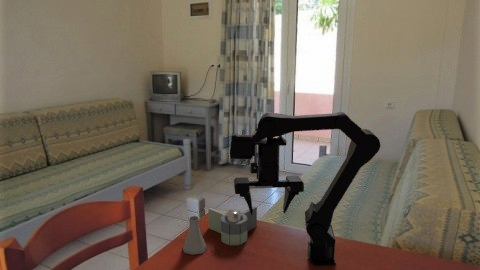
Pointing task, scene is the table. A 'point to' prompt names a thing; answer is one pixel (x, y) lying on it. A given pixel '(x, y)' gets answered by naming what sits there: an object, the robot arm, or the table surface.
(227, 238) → the pale green bracket
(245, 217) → the grey hollow faceted fixture
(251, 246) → the table surface
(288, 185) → the robot arm
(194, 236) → the flask
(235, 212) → the pin
